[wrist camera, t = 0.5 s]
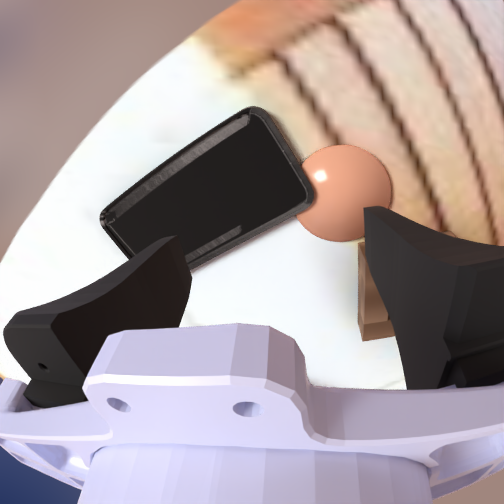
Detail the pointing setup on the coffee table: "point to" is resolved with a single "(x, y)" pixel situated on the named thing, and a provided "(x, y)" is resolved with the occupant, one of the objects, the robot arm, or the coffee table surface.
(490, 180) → the coffee table surface
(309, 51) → the coffee table surface
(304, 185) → the phone
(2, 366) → the coffee table surface
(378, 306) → the socket block
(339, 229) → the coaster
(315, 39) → the coffee table surface
